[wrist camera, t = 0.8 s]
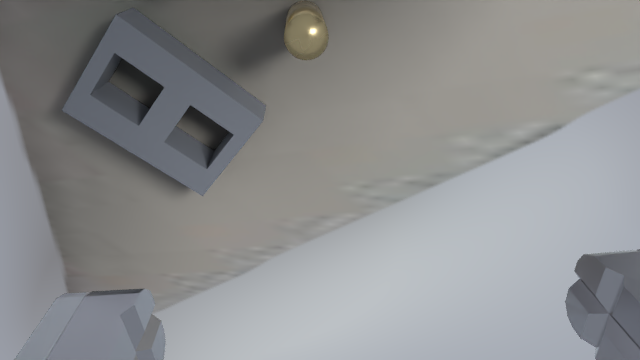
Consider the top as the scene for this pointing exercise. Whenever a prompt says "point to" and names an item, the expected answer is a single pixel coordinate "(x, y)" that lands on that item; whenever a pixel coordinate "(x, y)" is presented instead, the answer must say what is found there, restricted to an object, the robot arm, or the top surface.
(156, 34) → the block
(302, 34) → the pin
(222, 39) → the top surface
